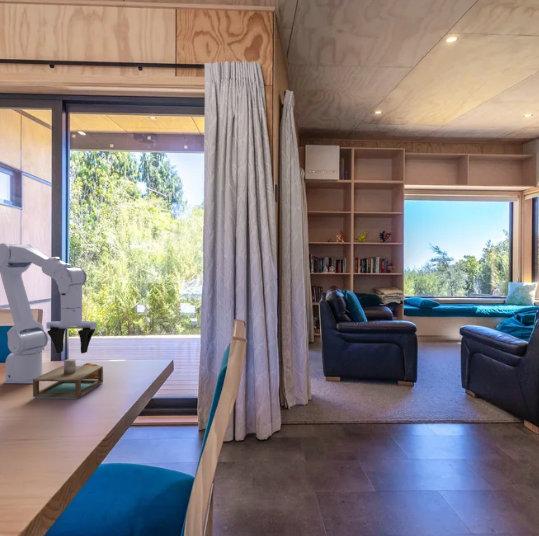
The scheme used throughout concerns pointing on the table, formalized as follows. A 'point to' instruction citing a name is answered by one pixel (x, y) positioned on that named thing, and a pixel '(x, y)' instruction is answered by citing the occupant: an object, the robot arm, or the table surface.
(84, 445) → the table surface
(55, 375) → the cover
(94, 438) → the table surface
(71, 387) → the mat
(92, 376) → the pastry
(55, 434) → the table surface
